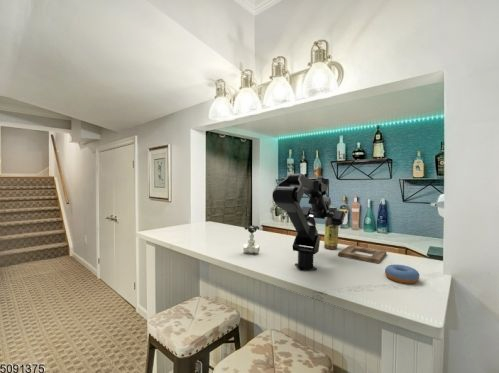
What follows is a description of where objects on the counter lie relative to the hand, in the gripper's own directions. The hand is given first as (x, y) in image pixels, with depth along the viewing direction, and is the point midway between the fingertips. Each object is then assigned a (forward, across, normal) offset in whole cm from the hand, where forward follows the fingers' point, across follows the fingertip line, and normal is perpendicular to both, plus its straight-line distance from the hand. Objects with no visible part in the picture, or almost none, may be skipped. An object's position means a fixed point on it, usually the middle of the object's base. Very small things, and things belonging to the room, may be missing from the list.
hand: (324, 227), depth 116 cm
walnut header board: (+12, -16, +3) cm, 20 cm away
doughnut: (-2, -32, +18) cm, 37 cm away
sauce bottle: (+15, -1, +1) cm, 15 cm away
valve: (-5, +25, +25) cm, 35 cm away
